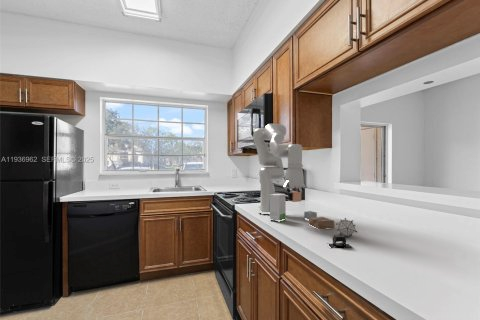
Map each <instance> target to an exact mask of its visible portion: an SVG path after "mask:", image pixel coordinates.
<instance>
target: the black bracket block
mask: <svg viewBox="0 0 480 320" xmlns="http://www.w3.org/2000/svg"><path fill="white" fill-rule="evenodd" d="M328 244H329V246H330V247H331V248H330V249H350V250H351V249H355V248H354V247H353V246H352V245H350V244H349V243H347V238H346V236H345V235H342V234H341V235H340V234H333V236H332V243H328Z"/></svg>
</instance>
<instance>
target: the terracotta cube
mask: <svg viewBox="0 0 480 320" xmlns="http://www.w3.org/2000/svg"><path fill="white" fill-rule="evenodd" d="M292 193H293V200H292V201H291V200H288V199H287V201H288V202H292V203H298V202H302V193H301V192H297V190H292Z"/></svg>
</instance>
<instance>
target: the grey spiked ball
mask: <svg viewBox="0 0 480 320" xmlns="http://www.w3.org/2000/svg"><path fill="white" fill-rule="evenodd" d="M335 225H337V229H336V231H339V235H343V236H344V237H346V239H348V238H349V236H351V237H352V236H353V234H354V233H355V232H356V233H358V231H357V230H356V228H355V226H356V224H354V220H353V219H352V220H349V219H347V217H344V219H341V218H340V220H339V222H338V223H335Z"/></svg>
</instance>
